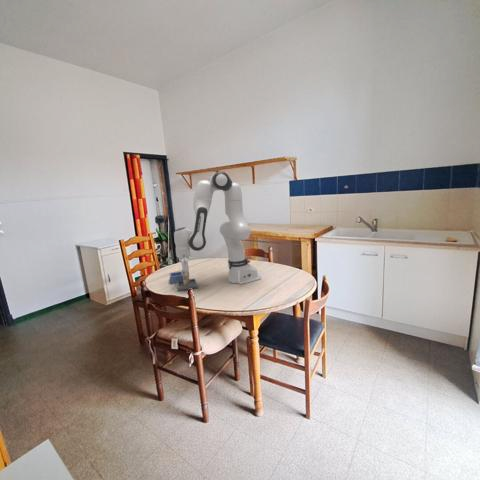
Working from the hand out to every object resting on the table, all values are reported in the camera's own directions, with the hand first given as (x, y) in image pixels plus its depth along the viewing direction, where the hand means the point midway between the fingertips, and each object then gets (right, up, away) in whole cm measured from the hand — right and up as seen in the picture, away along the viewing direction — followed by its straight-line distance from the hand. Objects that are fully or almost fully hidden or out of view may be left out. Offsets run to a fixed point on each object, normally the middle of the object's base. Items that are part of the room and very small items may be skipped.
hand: (185, 274), depth 168 cm
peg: (0, -7, +2) cm, 8 cm away
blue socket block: (-9, -7, +14) cm, 18 cm away
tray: (+1, -8, +2) cm, 9 cm away
